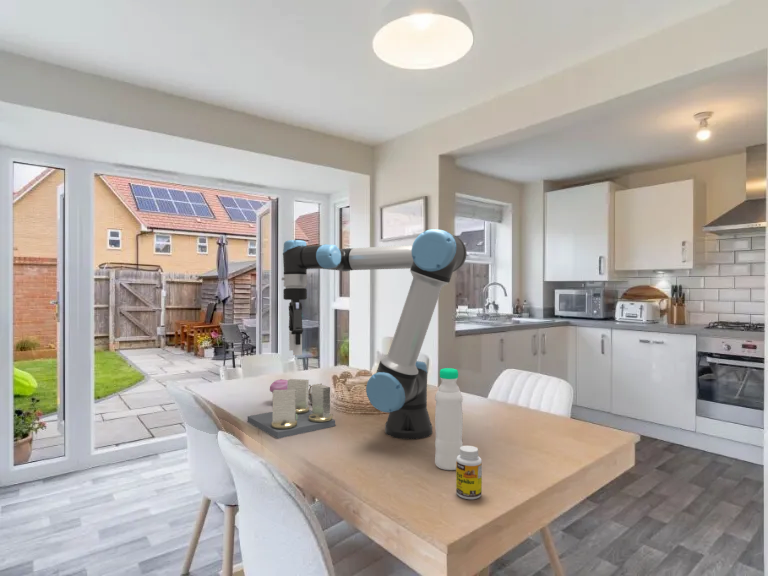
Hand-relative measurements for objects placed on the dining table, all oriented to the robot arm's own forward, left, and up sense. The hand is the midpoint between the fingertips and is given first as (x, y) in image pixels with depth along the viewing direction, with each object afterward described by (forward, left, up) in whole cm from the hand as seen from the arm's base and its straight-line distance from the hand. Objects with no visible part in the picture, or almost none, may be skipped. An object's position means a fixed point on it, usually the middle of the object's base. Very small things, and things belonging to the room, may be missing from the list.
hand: (295, 352), depth 145 cm
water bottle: (-52, -16, -25) cm, 60 cm away
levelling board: (+7, -2, -25) cm, 26 cm away
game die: (+25, -23, -25) cm, 42 cm away
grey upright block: (-1, -9, -23) cm, 24 cm away
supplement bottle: (-66, -7, -25) cm, 71 cm away
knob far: (+13, -8, -23) cm, 27 cm away
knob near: (0, +4, -23) cm, 23 cm away
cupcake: (+34, -12, -25) cm, 44 cm away
